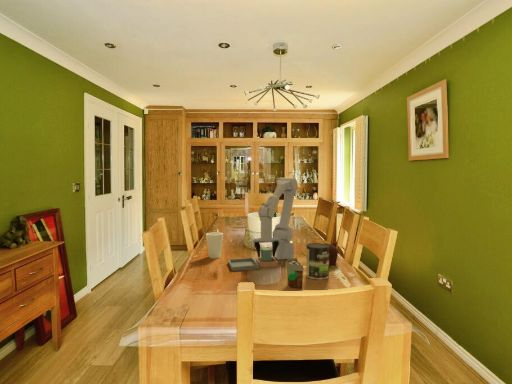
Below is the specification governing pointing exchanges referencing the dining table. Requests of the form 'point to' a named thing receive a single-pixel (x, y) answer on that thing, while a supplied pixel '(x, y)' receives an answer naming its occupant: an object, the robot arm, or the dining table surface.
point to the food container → (294, 273)
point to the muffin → (332, 254)
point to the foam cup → (214, 244)
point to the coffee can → (317, 261)
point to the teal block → (266, 255)
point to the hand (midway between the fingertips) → (266, 256)
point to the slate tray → (243, 264)
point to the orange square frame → (267, 263)
